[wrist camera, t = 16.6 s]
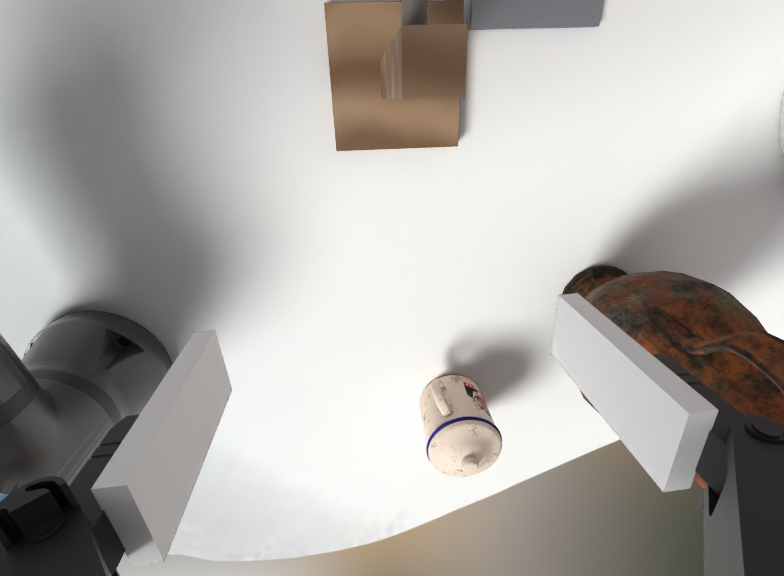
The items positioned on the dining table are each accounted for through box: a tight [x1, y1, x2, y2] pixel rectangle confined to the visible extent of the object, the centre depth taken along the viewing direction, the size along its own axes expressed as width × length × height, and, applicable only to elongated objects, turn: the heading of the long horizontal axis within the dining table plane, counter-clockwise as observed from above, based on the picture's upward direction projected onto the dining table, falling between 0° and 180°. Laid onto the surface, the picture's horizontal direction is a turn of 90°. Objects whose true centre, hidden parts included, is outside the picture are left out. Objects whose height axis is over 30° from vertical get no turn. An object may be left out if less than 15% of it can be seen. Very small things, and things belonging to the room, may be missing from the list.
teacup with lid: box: [419, 375, 502, 477], centre depth 50 cm, size 12×9×12 cm
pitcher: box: [562, 265, 784, 490], centre depth 37 cm, size 17×21×30 cm
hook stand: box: [324, 0, 468, 151], centre depth 28 cm, size 16×12×22 cm
